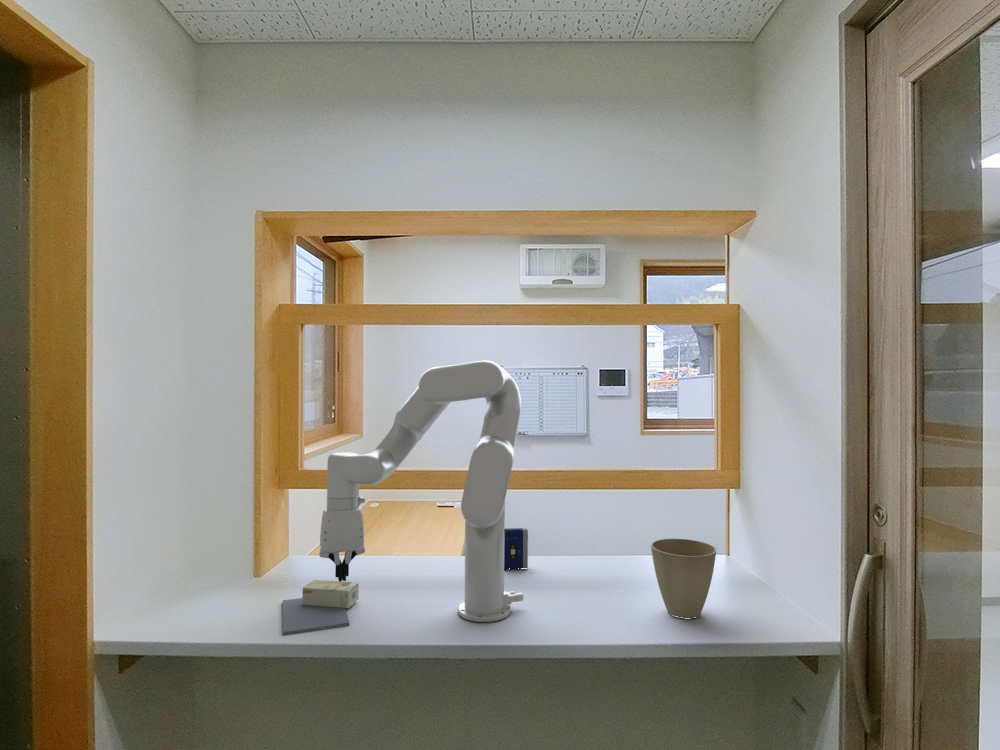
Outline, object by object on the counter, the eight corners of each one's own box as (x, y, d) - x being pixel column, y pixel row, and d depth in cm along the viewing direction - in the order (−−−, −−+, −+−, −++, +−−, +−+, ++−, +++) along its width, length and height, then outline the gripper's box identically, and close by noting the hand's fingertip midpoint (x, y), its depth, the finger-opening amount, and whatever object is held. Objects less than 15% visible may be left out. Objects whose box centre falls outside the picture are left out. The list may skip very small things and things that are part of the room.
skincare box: (348, 590, 136) (301, 587, 138) (348, 609, 136) (301, 605, 138) (359, 581, 142) (314, 578, 144) (359, 599, 142) (313, 596, 144)
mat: (340, 595, 146) (340, 593, 147) (349, 625, 128) (349, 622, 128) (282, 602, 141) (282, 600, 141) (283, 635, 123) (283, 632, 123)
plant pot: (638, 606, 139) (638, 541, 140) (688, 598, 144) (687, 536, 145) (678, 630, 125) (677, 558, 126) (731, 621, 130) (730, 551, 131)
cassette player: (503, 570, 167) (503, 529, 168) (502, 567, 170) (502, 527, 170) (528, 569, 168) (528, 529, 168) (527, 567, 170) (527, 527, 171)
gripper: (371, 498, 144) (370, 571, 143) (309, 502, 139) (308, 578, 138) (376, 504, 137) (375, 581, 136) (311, 508, 132) (310, 588, 131)
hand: (341, 579), depth 137 cm, fingers closed
